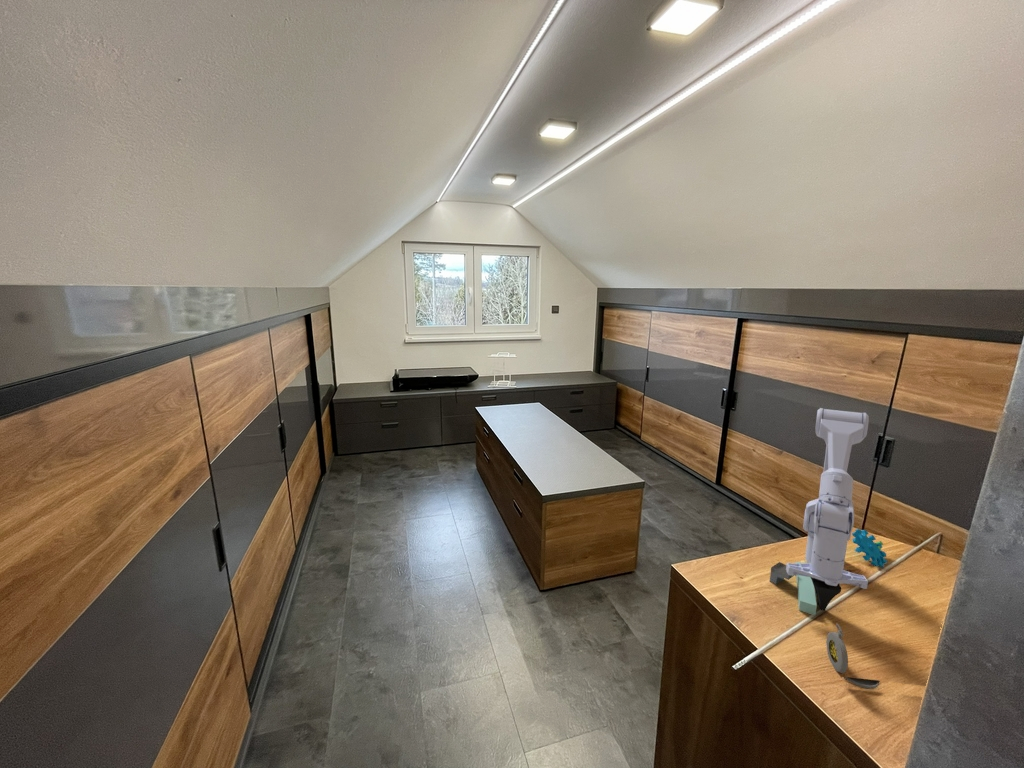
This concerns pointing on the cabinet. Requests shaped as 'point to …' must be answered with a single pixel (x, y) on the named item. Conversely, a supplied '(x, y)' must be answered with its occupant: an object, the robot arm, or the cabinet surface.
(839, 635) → the pocket watch
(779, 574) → the block
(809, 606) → the latch bar
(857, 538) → the gear
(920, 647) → the cabinet surface
